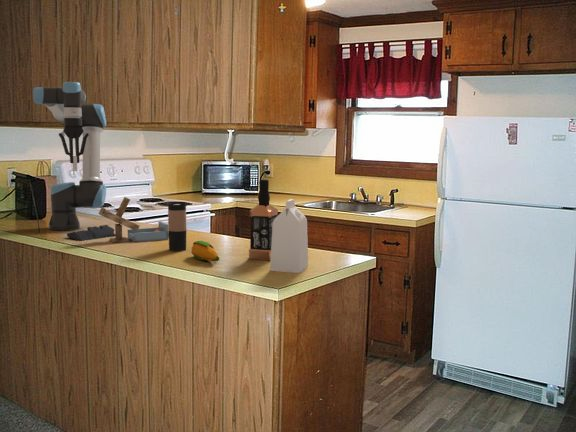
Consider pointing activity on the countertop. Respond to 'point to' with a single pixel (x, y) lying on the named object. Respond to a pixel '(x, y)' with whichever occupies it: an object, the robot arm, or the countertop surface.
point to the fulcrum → (118, 235)
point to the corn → (204, 251)
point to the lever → (120, 215)
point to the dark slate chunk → (93, 233)
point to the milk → (289, 240)
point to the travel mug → (177, 226)
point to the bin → (149, 233)
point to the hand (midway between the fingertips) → (75, 170)
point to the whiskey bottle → (262, 225)
